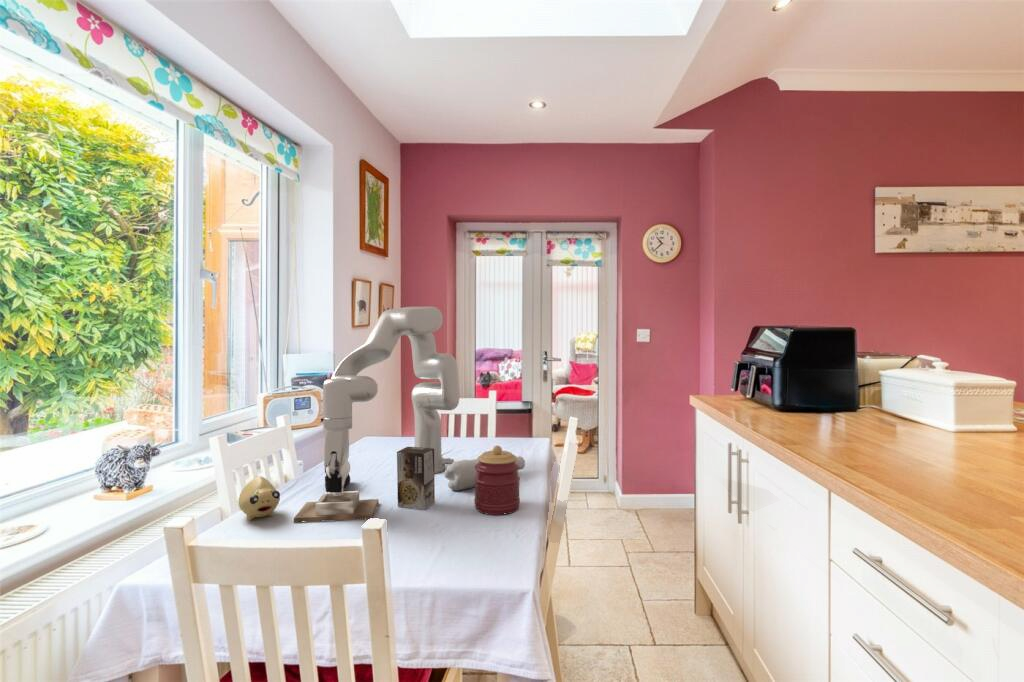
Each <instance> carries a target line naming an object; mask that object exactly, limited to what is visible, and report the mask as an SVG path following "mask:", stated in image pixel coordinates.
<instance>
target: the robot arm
mask: <svg viewBox="0 0 1024 682" xmlns="http://www.w3.org/2000/svg"><path fill="white" fill-rule="evenodd" d="M443 321H444V318H443V314H442V312H441V310H440V309H439V308H437V307H435V306H406V307H405V306H404V307H403V306H402V307H400V308H390V309H385V310H384V311H383V312H382V313H381V314H380V316H379V318H378V320H377V321H376V323H375V325H374V326H373V328H372V330H371V332H370V334H369V335H368V337H367V339H366V340H365V342H364V343H363V344H362V345H361V346H359V347H357V348H356V349H354V350H353V351H352V352H350V353H349V354H348V355H347V356H345V357H344V359H342V361H340V363H339V364H338V365H337V367H336V368H335V370H334V372H333V374H332V376H331V378H328V379H325V380H324V382H323V384H322V385H323V386H322V391H323V392H322V397H323V398H322V400H323V407H322V408H323V410H322V411H323V412H322V413H323V416H322V418H323V421H322V422H323V424H322V425H323V426H322V427H323V428H322V429H323V430H324V431H325V435H324V436H325V437H324V448H323V449H324V451H323V452H324V453H323V466H324V468H325V467H328V465H329V464H330V467H329V470H330V472H329V492H330V493H334V492H341V491H342V477H341V466H343V465H344V463H345V461H346V459H347V460H348V461H349V456H350V432H349V431H350V429H352V428H353V403H367V402H369V401H371V400H373V399H374V398H375V397H376V396H377V394H378V391H379V390H378V389H379V387H378V383H377V381H376V380H375V379H374V378H372V377H370V376H367V375H358V374H359V373H361V371H363V370H364V369H366V368H369V367H371V366H374V365H377V364H379V363H381V362H384V361H386V360H387V359H389V358H390V357H391V355H392V353H393V351H394V349H395V347H396V345H397V343H398V341H399V339H400V337H401V336H406V337H408V339H409V340H410V348H411V355H412V365H413V366H412V367H413V373H414V376H415V377H416V378H418V379H419V380H420V379H421V380H427V382H425V381H424V382H420V383H418V384H416V385H414V386H413V388H412V391H411V402H412V407H413V408H412V409H413V415H414V447H421V448H434V474H438V473H441V472H445V470H446V468H447V465H448V466H449V465H451V464H452V463H453V462H455V460H454V458H451V457H450V458H449V457H447V458H444V457H443V454H442V420H441V416H440V414H439V412H438V411H453V410H455V409H456V408H457V407H458V406H459V404H460V403H459V402H460V383H459V367H458V362H457V360H456V358H455V357H454V355H452V354H451V353H450V354H449V353H443V352H442V353H441V352H438V351H437V347H436V346H437V345H436V338H435V335H434V333H435V332H437V331H438V330H440V328H441V327H442V324H443ZM428 380H430V381H439V382H428ZM336 464H339V466H336ZM336 468H338V471H337V469H336ZM346 484H347V477H346V479H345V483H344V485H346Z"/></svg>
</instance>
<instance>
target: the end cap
mask: <svg viewBox="0 0 1024 682" xmlns="http://www.w3.org/2000/svg"><path fill="white" fill-rule="evenodd" d="M324 474H325V476H324V483H325V484H324V488H325V492H329V477H328V475H327V473H326V467H325V466H324ZM350 484H351V476H350V473H349V474H348V476H347V484H346V485H343V491H345V490H346V489H347V488H348V487H349V485H350Z"/></svg>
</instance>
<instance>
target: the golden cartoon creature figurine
mask: <svg viewBox="0 0 1024 682" xmlns="http://www.w3.org/2000/svg"><path fill="white" fill-rule="evenodd" d="M280 499H281V493H280V492H279V491H278V490H277V489H276V488H275V486H274V485H273V484H272V483H271V482H270V481H269V480H268V479H267V478H265V477H264V476H256V477H254V478H253V479H251V480H250V481H248V483H246V485H245V486H244V487H243V488H242V490H241V491H240V494H239V497H238V507H239V508H240V510H241V511H242V513H243V514H244V515H246V519H247V520H248V521H251V520H253V519H254V518H262V517H266V516H268V517H273V516H274V514H275V510H276V508H277V507H278V506H279V503H280Z"/></svg>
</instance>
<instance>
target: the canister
mask: <svg viewBox="0 0 1024 682" xmlns="http://www.w3.org/2000/svg"><path fill="white" fill-rule="evenodd" d="M517 457H518V456H516V455H515V454H513V453H512V452H510V451H508V450H503V449H502V447H501V446H500V445H495V446H493V448H492V450H488V451H485V452H483V453H482V454H480V455H479V456H477V458H476V459H477V460H478V461H479V462H478V463H477V464H476V465H475V466H474V468H475V470H476V476H475V478H474V480H475V486H474V502H473V503H474V505H475V507H476V508H475V507H474V508H475V509H477V510H476V511H478V510H479V511H481V512H483V513H482V514H485V513H487V514H486V515H490V514H503V515H505V514H504V513H509V514H511V512H512V513H514V512H516V511H517V510H519V508H520V503H521V497H520V480H521V477H520V475H519V468H520V465H519V464H518V463H516V460H517ZM479 511H478V512H479ZM481 512H480V513H481Z"/></svg>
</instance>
